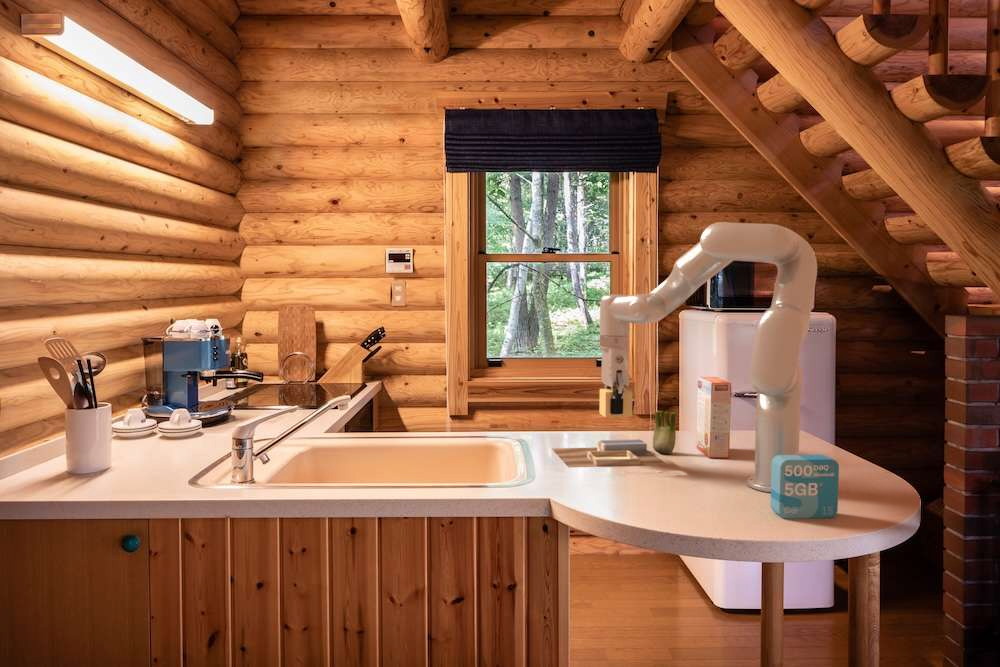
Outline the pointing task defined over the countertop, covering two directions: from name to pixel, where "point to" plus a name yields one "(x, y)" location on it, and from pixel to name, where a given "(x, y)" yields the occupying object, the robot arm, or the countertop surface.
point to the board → (609, 454)
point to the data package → (804, 486)
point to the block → (605, 403)
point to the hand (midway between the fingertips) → (612, 411)
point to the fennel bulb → (664, 433)
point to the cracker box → (714, 417)
